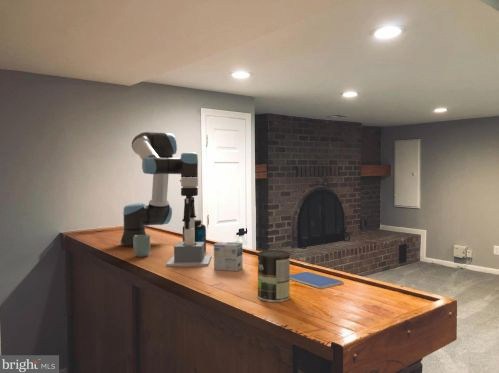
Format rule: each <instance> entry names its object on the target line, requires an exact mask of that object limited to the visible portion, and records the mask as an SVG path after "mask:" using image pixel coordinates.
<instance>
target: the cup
mask: <svg viewBox="0 0 499 373" xmlns="http://www.w3.org/2000/svg"><path fill="white" fill-rule="evenodd" d="M133 244H134V247H133V252H134V255H135V256H136V257H138V258H145V257H147V256H149V255H150V252H151V235H150V234H146V235H135V236H134V238H133Z"/></svg>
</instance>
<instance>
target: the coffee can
mask: <svg viewBox="0 0 499 373" xmlns="http://www.w3.org/2000/svg"><path fill="white" fill-rule="evenodd" d="M290 257H291V253H290V252H288V251H285V250H279V249H278V250H276V249H275V250H272V249H269V250H261V251H258V252H257V298H258V300H260V301H262V302H266V303H282V302H286V301H288V300H289V299H290V297H291V296H290V292H291V290H290V285H291V284H290V275H291V274H290V273H291V272H290V267H291V266H290V265H291V263H290V261H291V260H290Z"/></svg>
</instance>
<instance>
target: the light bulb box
mask: <svg viewBox="0 0 499 373" xmlns="http://www.w3.org/2000/svg"><path fill="white" fill-rule="evenodd" d="M243 254H244V253H243V242H230V241H229V242H226V241H224V242H223V241H219V242H216V243H214V244H213V270H215V271H216V270H217V271H218V270H219V271H230V272H238V271H240V270H241V269H243V267H244V266H243V265H244V264H243V261H244V260H243Z"/></svg>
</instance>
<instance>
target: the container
mask: <svg viewBox="0 0 499 373" xmlns="http://www.w3.org/2000/svg"><path fill="white" fill-rule="evenodd" d="M182 242H185V236H184V225H183V226H182ZM195 242H204V253H205V252H206V251H207V227H206V225H205V224H203V223H202V220H201V219H195Z"/></svg>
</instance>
